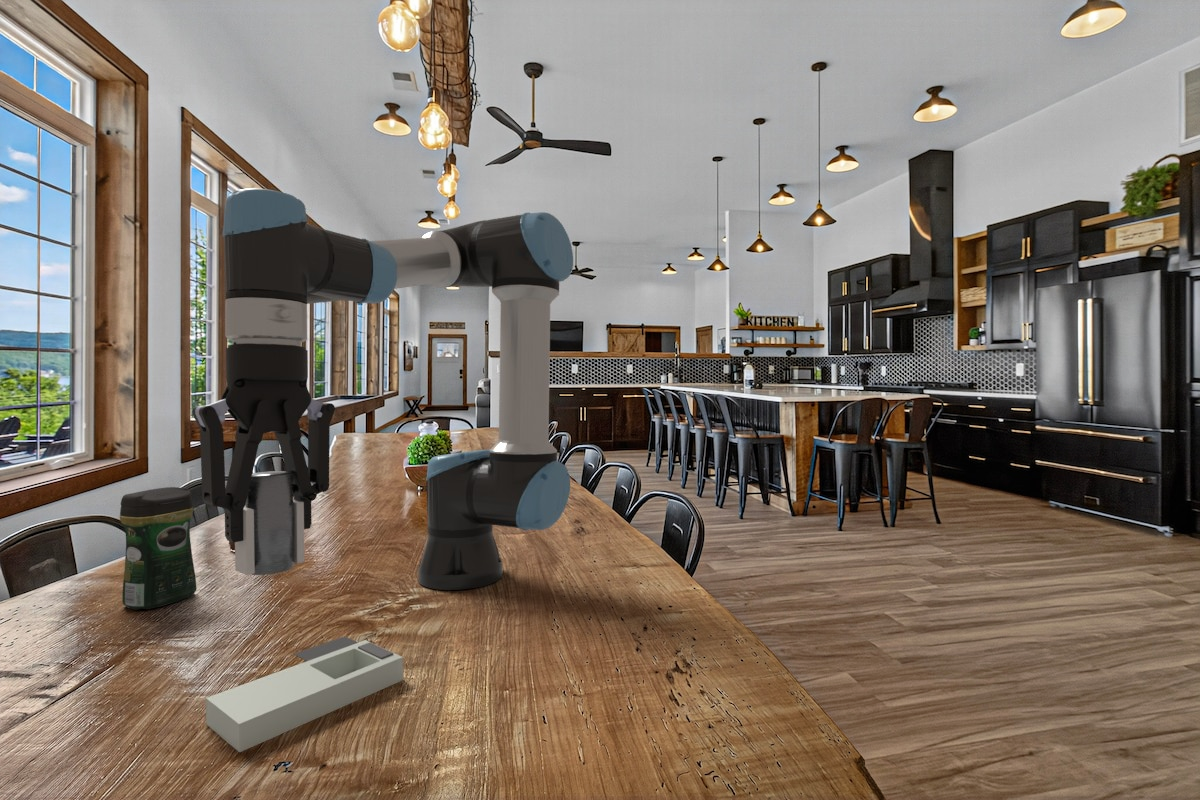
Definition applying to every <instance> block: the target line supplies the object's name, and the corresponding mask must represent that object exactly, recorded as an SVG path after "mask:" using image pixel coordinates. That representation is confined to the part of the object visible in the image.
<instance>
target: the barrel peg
mask: <svg viewBox="0 0 1200 800" xmlns="http://www.w3.org/2000/svg"><path fill="white" fill-rule="evenodd" d="M293 500H294V497H293V472H289V471H286V470H278V471H277V470H275V471H273V470H272V471H270V470H269V471H259V472H253V473H252V477H251V482H250V486H249V491H248V495H247V500H246V504H245V507H246V508H251V509H254V564H255V573H254V574H250V575H251V576H267V575H274V574H275V575H276V574H280V573H283V572H287V571H290V570H292V569H293V568H294V565H295V563H294V539H293Z"/></svg>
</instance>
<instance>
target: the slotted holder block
mask: <svg viewBox="0 0 1200 800" xmlns="http://www.w3.org/2000/svg"><path fill="white" fill-rule="evenodd" d="M402 681H404V657H403V656H402V655H399V654H397V653H395V652H393V651H391V650H388V649H387V648H383V647H381V646H379V645H377V644H375V643H373V642H371V641H368V640H366V639H364V640H362V641H359V642H358V643H356V644H353V645H351V646H348V647H345V648H342V649H340V650H337V651H334V652H331V653H329V654H326V655H323V656H320V657H318V658H315V659H312V660H309V661H304V662H300V663H299V664H295V665H293V666H290V667H288V668H285V669H282V670H279V671H277V672H274V673H271V674H268V675H265V676H263V677H260V678H258V679H257V678H256V679H254V680H252V681H248V682H246V683H243V684H241V685H238V686H235V687H232V688H230V689H226V690H224V691H222V692H219V693H216V694H213V695H211V696H207V697H205V713H206V714H205V716H206V717H205V718H206V719H205V720H206V723H205V724H206V725H207V727H209V728H210V729H212V731H213V732H215V733H216V734H217V735H218V736H219V737H221V738H222V739H223V740H224V741H226V743H227V744H229V745H230V746H231V747H232V748H233V749H235V751H237V752H238V753H242V752H244V751H246V750H248V749H250V748H252V747H253V748H254V747H255V746H257V745H259V744H262V743H263V742H266V741H268V740H271V739H274V738H275V737H278V736H280V735H282V734H284V733H286V732H289V731H291V730H293V729H296V728H298V727H300V726H302V725H304V724H307V723H309V722H311V721H314V720H316V719H318V718H320V717H323V716H325V715H328V714H329V713H332V712H335V711H336V710H339V709H341V708H343V707H346V706H348V705H350V704H352V703H355V702H357V701H359V700H361V699H364V698H365V697H366V698H367V697H368V696H370V695H372V694H375V693H377V692H379V691H381V690H384V689H386V688H388V687H390V686H393V685H395V684H397V683H399V682H402Z"/></svg>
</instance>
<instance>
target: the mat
mask: <svg viewBox="0 0 1200 800" xmlns="http://www.w3.org/2000/svg"><path fill="white" fill-rule="evenodd" d="M356 643H359V642H358V641H355V640H353V639H351V638H350V637H347V636H345V635H344V636H342V637H338V638H334V639H332V640H330V641H327V642H324V643H321V644H318V645H315V646H312V647H309V648H307V649H304V650H301V651H297V652H295V653H294V655H295V656H296V657H298V658H300V659H301V660H304V662H307V661H309V660H312V659H315V658H318V657H320V656H323V655H326V654H329V653H331V652H334V651H337V650H340V649H342V648H345V647H348V646H351V645H353V644H356Z"/></svg>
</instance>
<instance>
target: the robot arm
mask: <svg viewBox="0 0 1200 800" xmlns="http://www.w3.org/2000/svg"><path fill="white" fill-rule="evenodd" d="M224 206H225V208H224V212H223V230H222V237H223V253H224V254H223V255H224V256H223V257H224V261H223V262H224V293H225V296H224V297H225V301H224V304H225V307H224V309H225V310H224V312H225V313H224V315H225V316H224V318H225V319H224V322H225V323H224V326H225V327H224V328H225V329H224V330H225V331H224V333H225V335H224V337H226V339H227V340H228V341H231V342H232V344H229V345H228V346H227V347H226V348H225V378H226V379H225V381H226V388H225V390H224V392H223V393H222V395H221V399H220V400H216V401H215V402H212V403H208V404H207V405H206V404H205V405H196V406H194V407H193V408H192V411H191V413H192V416H193V418H194V420H195V422H196V424H197V426H198V427H197V428H198V429H199V439H200V440H199V441H200V443H199V444H200V445H199V447H200V468H201V469H200V470H201V473H200V474H201V491H202V495H201V496H202V499H201V500H202V501H203V503H204V504H206V505H208V506H209V505H210V506H213V507H216V508H222V509H223V511H224V537H225V538H226V541H228V542H229V541H230V542H233V543H234V542H235V553H234V559H235V560H234V562H235V563H234V566H235V567H234V568H235V571H236V572H239V573H240V574H243V575H246V576H249V575H251V574H254V573H255V564H254V509H251V508H246V507H245V504H246V500H247V495H248V491H249V486H250V482H251V477H252V473H254V472H253V471H254V467H255V464H256V463H255V462H256V458H257V454H258V449H259V445H260V444H261V442H262V440H263V438H264V434H269V433H271V432H272V433H273V434H274V436H275V439H276V440H277V441H278V443H279V444H278V445H279V448H280V452H281V456H282V459H283V463H284V468H285V471H289V472H293V539H294V564H297V565H298V564H302V563H305V530H307V529H309V530H310V529H311V525H312V502H313V501H315V500H316V499H317V496H318V494H321V493H326V492H327V491H328V490H329V488H330V438H331V437H330V433H331V432H330V430H331V429H330V428H331V427H330V424H331V421H332V419H333V417H334V416H333V415H334V413H335V409H336V408H335V405H334V404H333V403H332V402H331V403H329V402H321V401H319V400H316V399H313V398H312V395H311V393H310V391H309V389H308V385H307V383H308V378H309V376H308V375H309V368H308V367H309V363H308V362H309V361H308V358H309V356H308V350H307V349H306V347H305V346H302V343H305V342H306V341H308V307H307V306H308V304H317V303H318V304H319V303H321V304H322V303H329V302H338V301H339V302H341V301H348V302H355V303H356V304H364V303H365V304H379V303H382V302H384V301H386V300H387V299H388V298H389V297H391V295H392V293H393V291H394V290H397V289H402V288H409V287H417V286H422V285H423V286H424V285H431V286H432V287H435V288H441V289H442V288H451V287H477V288H479V287H481V288H482V287H483V288H487V287H489V288H490V287H491V292H492V294H493V295H494V296H495V298H496V299H497V300H499V302H500V318H499V319H500V327H499V329H500V330H499V334H500V336H499V341H500V342H499V389H498V390H499V391H498V393H499V395H498V397H499V398H498V399H499V400H498V404H499V406H498V440H497V442H496V443H495V444H494V445H493V446H492V447H491V448H490V449H478V450H477V449H476V450H470V451H461V452H455V453H447V454H440V455H436V456H432V457H431V459H429V460H428V462H427V471H426V479H425V482H426V483H425V485H426V512H427V539H426V542H425V546H424V549H423V553H422V555H421V556H422V557H421V560H420V563H419V565H418V569H417V579H418V580H417V582H418V583H419V584H420V585H421V586H423V587H425V588H428V589H432V590H433V589H434V590H441V591H459V590H470V589H476V588H481V587H484V586H485V587H486V586H489V585H491V584H493V583H496V582H497V581H499V580H501V578H502V577H503V573H504V571H503V560H502V558H501V557H500V556H501V555H500V552H499V550H498V546H497V543H496V540H495V536H494V533H493V526H497V527H505V528H514V529H519V530H521V531H522V530H523V531H528V530H530V531H531V530H533V531H535V530H536V531H544V530H547V529H549V528H551V527H552V526H554V525H555V524H556V523H557V522H558V520H560V518H561V517H562V515H563V513H564V512H565V509H566V507H567V504H568V502H569V497H570V494H571V493H570V491H571V476H570V473H568V471H569V470H568V467H567V466H566V465H565V464H564V463H561V462H560V461H559V460H558V450H557V448H556V447H555V446H554V445H553V444H551V442H550V440H549V432H550V431H549V428H550V427H549V423H550V363H551V361H550V360H551V357H550V354H551V352H550V350H551V305H552V303H553V301H554V300H555V299H556V298H557V297H558V296H559V295H560V282H564V281H565V280H567V279H568V278H569V277H570V276H571V272H572V271H573V267H574V253H573V249H572V243H571V239H570V237H569V235H568V233H567V231H566V229H565V227H564V226H563V224H562V222H560V220H559V219H558V218H557V217H556V216H555V215H553V214H551V213H550V212H549V213H548V212H544V211H542V212H532V213H531V212H524V213H523V214H516V215H510V216H504V217H497V218H492V219H486V220H485V219H483V220H478V221H474V222H471V223H467V224H464V225H460V226H456V227H455V226H454V227H452V228H447V229H442V230H432V231H429V232H427V233H425V234H423V236H422V237H417V238H415V237H414V238H397V239H381V240H368V239H367V238H364V237H363V238H359V237H354V236H352V235H348V234H344V233H340V232H335V231H332V230H327V229H324V228H320V227H317V226H315V225H312V224H310V223H307V222H308V219H309V218H308V216H307V208H306V205H305V204H304V202H303V201H302V200H300V199H299V198H297V197H296V196H294V195H292V194H290V193H286V192H283V191H279V190H272V189H265V188H243V189H238V190H234V191H232V193H230V194H228V196H227V197H226V199H225V205H224ZM306 410H307V411H306ZM226 412H227V413H229V414H230V416H231V417H232V418H233V419H234V421H235V422H236V423H237V427H236V432H235V436H234V440H235V445H234V449H233V454H232V459H231V463H230V468H229V472H228V474H227V475H228V476H227V480H226V469H225V467H226V466H225V463H226V462H225V442H224V440H225V439H224V429H223V423H224V422H225V421H226V416H225V415H226ZM305 412H307V413H306V416H307V418H308V419H309V420H308V425H307V430H308V431H307V439H308V440H307V461H306V458H305V452H304V449H303V444H302V440H301V439H302V431H301V427H300V423H299V422H300V419H301V418H302V417H303V415H304V414H305Z"/></svg>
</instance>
